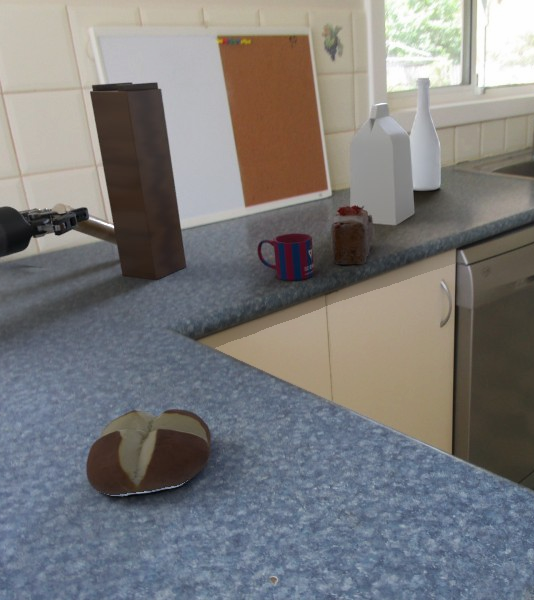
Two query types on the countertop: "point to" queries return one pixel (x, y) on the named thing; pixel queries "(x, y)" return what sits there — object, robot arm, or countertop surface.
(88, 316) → the countertop surface
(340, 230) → the food item
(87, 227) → the rolling pin
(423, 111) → the wine bottle
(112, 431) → the bread
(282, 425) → the countertop surface
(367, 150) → the milk
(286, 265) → the mug
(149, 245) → the stand
